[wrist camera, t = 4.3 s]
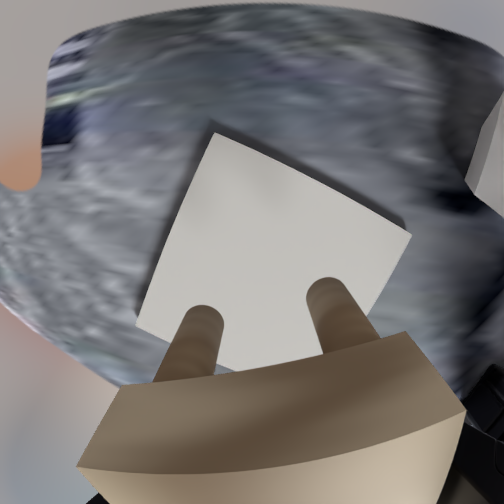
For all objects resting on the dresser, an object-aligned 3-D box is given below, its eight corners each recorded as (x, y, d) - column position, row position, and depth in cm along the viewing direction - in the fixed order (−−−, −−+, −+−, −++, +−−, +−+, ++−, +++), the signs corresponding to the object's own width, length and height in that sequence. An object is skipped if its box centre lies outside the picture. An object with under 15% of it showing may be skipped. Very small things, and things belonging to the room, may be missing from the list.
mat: (406, 232, 19) (412, 234, 18) (309, 391, 22) (310, 397, 21) (216, 133, 17) (214, 132, 17) (139, 320, 20) (135, 325, 20)
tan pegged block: (349, 265, 10) (466, 410, 3) (364, 401, 11) (415, 545, 5) (170, 304, 10) (76, 466, 4) (220, 429, 12) (200, 576, 5)
